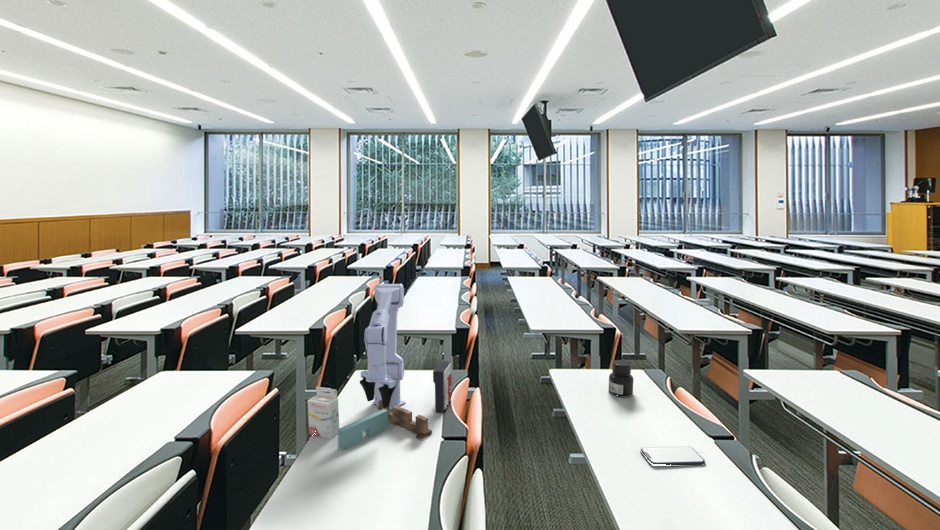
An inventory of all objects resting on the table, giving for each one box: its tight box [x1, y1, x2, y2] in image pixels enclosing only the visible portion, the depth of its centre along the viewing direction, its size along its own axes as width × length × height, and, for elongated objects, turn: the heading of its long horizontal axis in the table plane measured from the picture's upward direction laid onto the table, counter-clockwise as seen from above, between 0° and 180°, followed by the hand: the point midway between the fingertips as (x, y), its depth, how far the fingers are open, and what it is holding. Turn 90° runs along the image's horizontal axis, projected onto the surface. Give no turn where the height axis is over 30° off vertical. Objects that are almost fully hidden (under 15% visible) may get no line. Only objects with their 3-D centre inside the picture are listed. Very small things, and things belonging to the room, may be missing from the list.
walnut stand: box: [377, 400, 433, 441], centre depth 162 cm, size 22×5×6 cm, turn 51°
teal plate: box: [337, 409, 389, 450], centre depth 155 cm, size 18×2×6 cm, turn 140°
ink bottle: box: [607, 359, 634, 397], centre depth 187 cm, size 10×9×12 cm
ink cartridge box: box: [307, 385, 340, 440], centre depth 157 cm, size 9×5×15 cm, turn 71°
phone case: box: [640, 446, 706, 466], centre depth 143 cm, size 9×2×16 cm
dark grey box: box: [432, 360, 453, 413], centre depth 176 cm, size 11×4×15 cm, turn 168°
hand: (378, 403), depth 158 cm, fingers open, 7 cm apart
